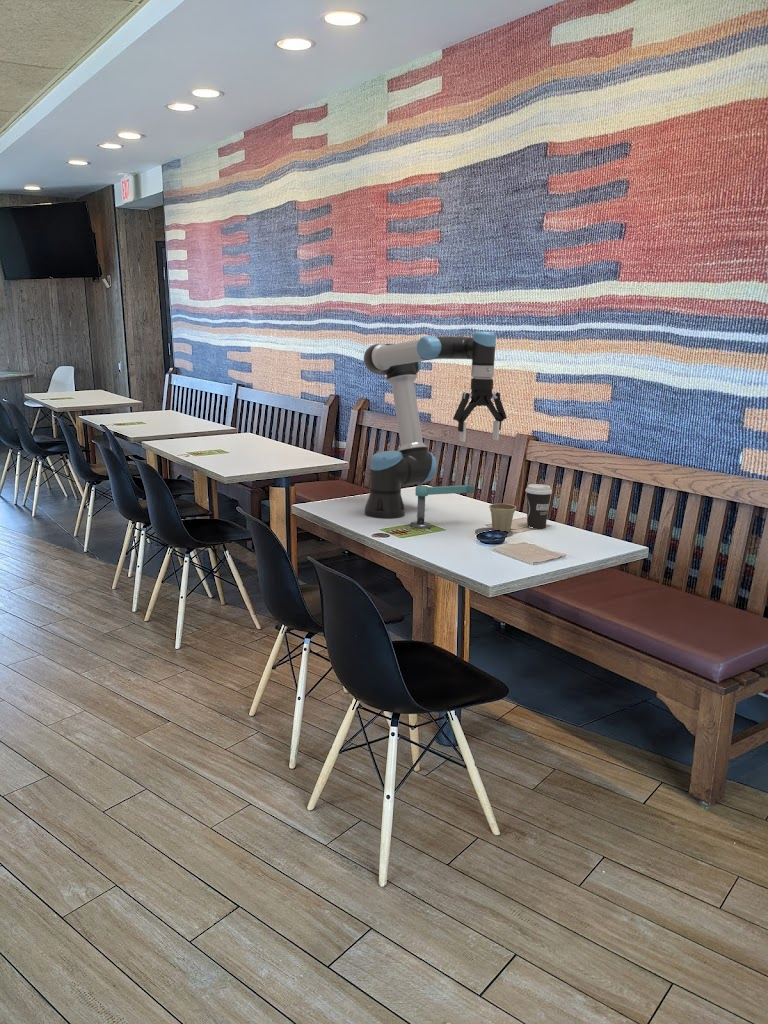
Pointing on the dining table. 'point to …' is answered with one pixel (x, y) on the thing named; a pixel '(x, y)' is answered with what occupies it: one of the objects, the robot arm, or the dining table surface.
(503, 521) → the flower pot
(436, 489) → the teal paddle stick
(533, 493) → the coffee cup
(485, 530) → the pad
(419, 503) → the grey pedestal stand
